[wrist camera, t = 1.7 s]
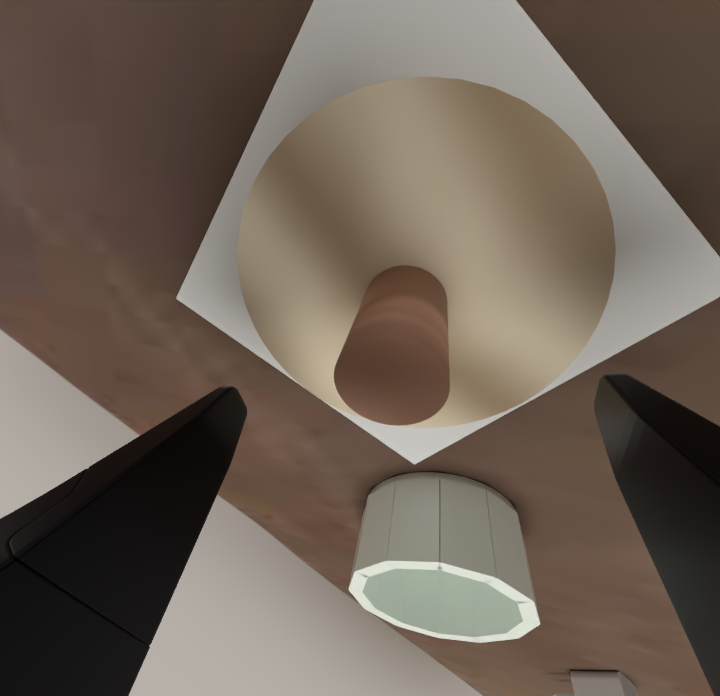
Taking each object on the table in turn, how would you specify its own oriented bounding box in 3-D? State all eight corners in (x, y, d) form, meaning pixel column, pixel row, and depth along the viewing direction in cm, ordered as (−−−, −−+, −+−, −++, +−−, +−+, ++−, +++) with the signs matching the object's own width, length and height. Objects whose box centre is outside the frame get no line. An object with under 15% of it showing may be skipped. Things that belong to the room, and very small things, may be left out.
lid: (391, -61, 8) (329, -278, 4) (689, 285, 11) (856, 402, 7) (203, 298, 15) (105, 374, 11) (414, 448, 18) (405, 556, 14)
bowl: (440, 449, 19) (440, 541, 15) (554, 532, 21) (581, 631, 17) (338, 506, 24) (318, 584, 20) (437, 566, 26) (437, 647, 22)
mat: (391, -144, 8) (388, -160, 7) (728, 277, 11) (741, 284, 11) (184, 293, 16) (176, 298, 15) (415, 455, 19) (414, 464, 19)
